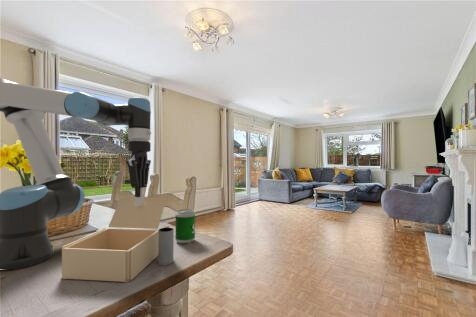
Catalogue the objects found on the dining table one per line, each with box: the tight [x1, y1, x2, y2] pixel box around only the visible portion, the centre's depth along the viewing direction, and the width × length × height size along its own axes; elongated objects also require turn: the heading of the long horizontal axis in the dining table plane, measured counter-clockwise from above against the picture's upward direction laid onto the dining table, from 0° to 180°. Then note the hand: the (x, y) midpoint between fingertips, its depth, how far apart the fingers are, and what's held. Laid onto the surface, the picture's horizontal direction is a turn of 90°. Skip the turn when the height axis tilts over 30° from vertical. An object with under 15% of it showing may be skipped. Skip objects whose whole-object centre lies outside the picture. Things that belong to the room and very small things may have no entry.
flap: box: [108, 196, 167, 230], centre depth 85 cm, size 18×1×12 cm
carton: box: [61, 227, 159, 283], centre depth 72 cm, size 20×20×8 cm
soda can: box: [175, 208, 196, 244], centre depth 93 cm, size 8×8×12 cm
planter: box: [157, 226, 175, 266], centre depth 74 cm, size 4×4×10 cm
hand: (139, 205), depth 86 cm, fingers closed
